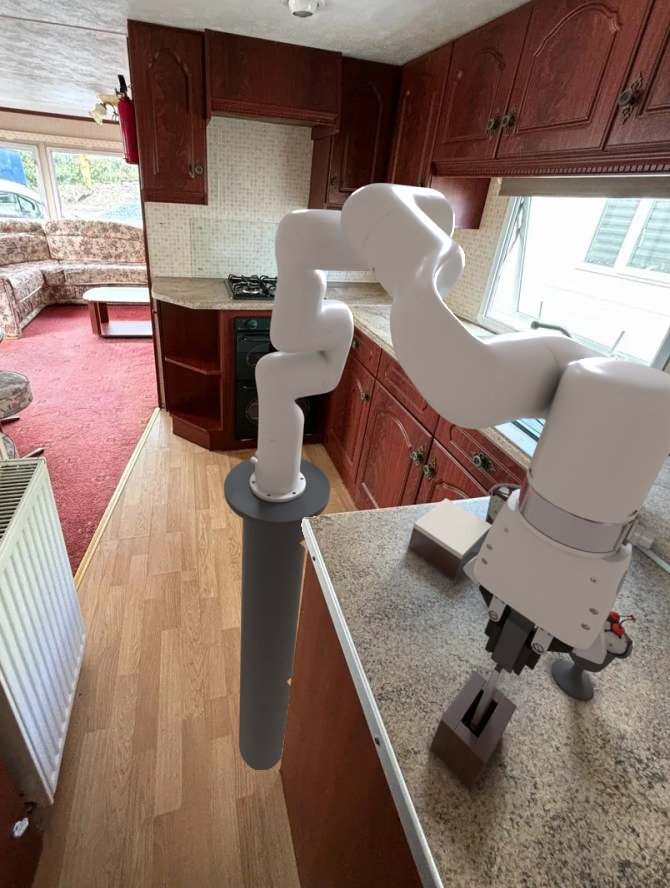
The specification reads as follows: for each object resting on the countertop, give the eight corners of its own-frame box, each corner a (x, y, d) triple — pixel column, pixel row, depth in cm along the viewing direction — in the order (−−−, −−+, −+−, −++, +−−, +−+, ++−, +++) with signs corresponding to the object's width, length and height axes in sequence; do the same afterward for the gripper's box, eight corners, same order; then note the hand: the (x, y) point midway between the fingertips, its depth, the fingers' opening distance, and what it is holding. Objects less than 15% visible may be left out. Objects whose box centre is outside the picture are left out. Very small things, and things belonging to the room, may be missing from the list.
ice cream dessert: (554, 550, 76) (573, 508, 72) (541, 566, 72) (560, 523, 68) (491, 513, 84) (504, 474, 80) (476, 525, 81) (489, 485, 77)
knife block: (429, 748, 47) (440, 718, 44) (463, 699, 52) (474, 670, 49) (470, 792, 43) (485, 763, 41) (502, 735, 48) (517, 705, 46)
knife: (463, 720, 44) (502, 623, 38) (479, 694, 47) (520, 599, 40) (480, 737, 43) (525, 639, 36) (496, 709, 46) (541, 613, 39)
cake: (408, 547, 74) (414, 522, 72) (439, 521, 81) (445, 498, 79) (454, 581, 68) (462, 555, 66) (483, 549, 75) (492, 525, 73)
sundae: (605, 718, 51) (657, 640, 44) (544, 688, 53) (585, 611, 47) (598, 671, 56) (644, 596, 50) (543, 645, 59) (580, 571, 53)
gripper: (705, 546, 30) (610, 694, 38) (494, 450, 41) (452, 581, 48) (692, 603, 25) (586, 759, 33) (457, 478, 36) (417, 617, 43)
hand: (507, 652), depth 40 cm, fingers closed on knife, 2 cm apart
